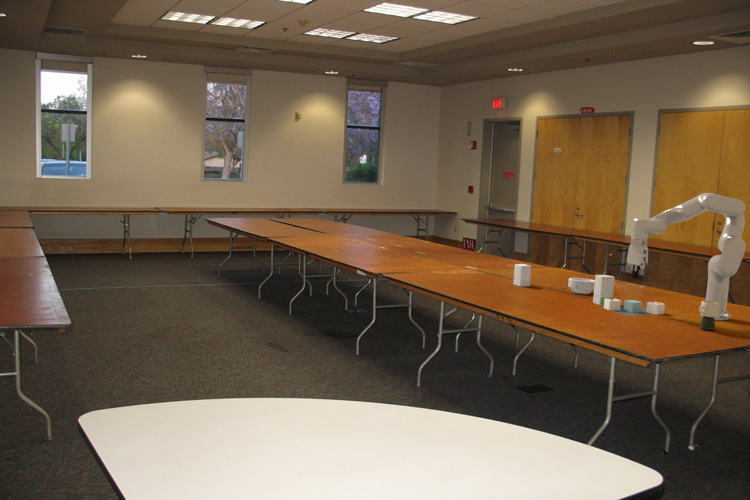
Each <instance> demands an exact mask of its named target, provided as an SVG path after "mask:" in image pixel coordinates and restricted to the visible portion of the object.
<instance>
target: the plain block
mask: <svg viewBox="0 0 750 500" xmlns="http://www.w3.org/2000/svg"><path fill="white" fill-rule="evenodd" d="M623 303H624V305H623V307H624V310H625V311H629V312H632V313H634V312H641V311H642V308H643V301H639V300H634V299H630V300H629V299H628V300H626V299H625V300H624V302H623Z"/></svg>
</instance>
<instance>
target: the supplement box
mask: <svg viewBox="0 0 750 500" xmlns="http://www.w3.org/2000/svg"><path fill="white" fill-rule="evenodd" d="M531 272H532V265H528V264H527V263H526V264H525V263H520V264H519V263H518V264H517V263H516V264H514V271H513V285H515V286H518V287H530V286H531V277H532V276H531Z"/></svg>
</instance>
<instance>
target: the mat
mask: <svg viewBox="0 0 750 500" xmlns="http://www.w3.org/2000/svg"><path fill="white" fill-rule="evenodd" d="M602 309H603V310H606V311H609V312H613V313H615V314H618V315H621V316H625V317H631V316H633V317H634V316H636V317H637V316H638V317H639V316H651V315H653V316H655V315H656V314H652V313H648V312H646V307H642V311H641V312H634V313H632V312H629V311H625V310H624V306H621V307H620V310H607V309H605V308H604V307H602Z"/></svg>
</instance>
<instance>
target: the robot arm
mask: <svg viewBox="0 0 750 500" xmlns="http://www.w3.org/2000/svg"><path fill="white" fill-rule="evenodd" d="M745 210H746V205H745V203H744V201H743V200H741V199H739V198H734V197H729V196H724V195H721V194H718V193H717V194H716V193H712V192H704V193H703V192H702V193H700V194H699V195H697V196H695V197H693V198H691V199H689V200H687V201H685V202H683V203H680V204H679V205H676V206H673V207H672V208H670V209H667V210H664V211H663V212H660V213H658V214H656V215H654V216H652V217H651V218H649V219H648V218H641V217H640V218H639V217H636V218H633V221H632V227H631V228H632V229H631V238H630V244H629V247H628V251H627V257H626V261H627V266H628V267H630V270H631V277H630V278H631V279H634V280H638V279H639V278H640V277H639V276H640V272H641V270H644V269H646V266H648V263H649V249H648V248H649V247H648V246H647V245H648V234H653V235H661V234H664V233H665V232H666V230H667V227H669V226H670V225H674V224H676V223H683V222H686V221H689V220H691V219H693V218H695V217H697V216H699V215H701V214H703V213H706V212H708V211H710V212H713V213H717V214H722V215H723V216H724V218H725V219H724V220H725V223H724V226H723V229H722V232H721V235H720V237H719V239H718V243H717V248H718V250H719V251H720V252H721V254H716V255H714V256H712V257H711V258H710V259H709V261H708V263H707V276H708V277H707V288H706V295H705V301H713V302H717V303H719V306H720V309H719V312H718V315H717V317H714V319H715V321H728V320H730V318H731V317H732V313H729V310H728V309H727V306H728V305H727V304H728V297H729V289H730V277H732V276H734V275H735V274H737V272H738V270H739V267H740V265H741V263H742V260H743V258H744V254H745V251H746V242H745V241H744V239H743V238H742V235H743V233H744V229H745V225H746V224H745V223H746V218H745V215H744V213H745ZM700 316H701V318H702V317H703V315H701V314H700Z"/></svg>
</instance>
